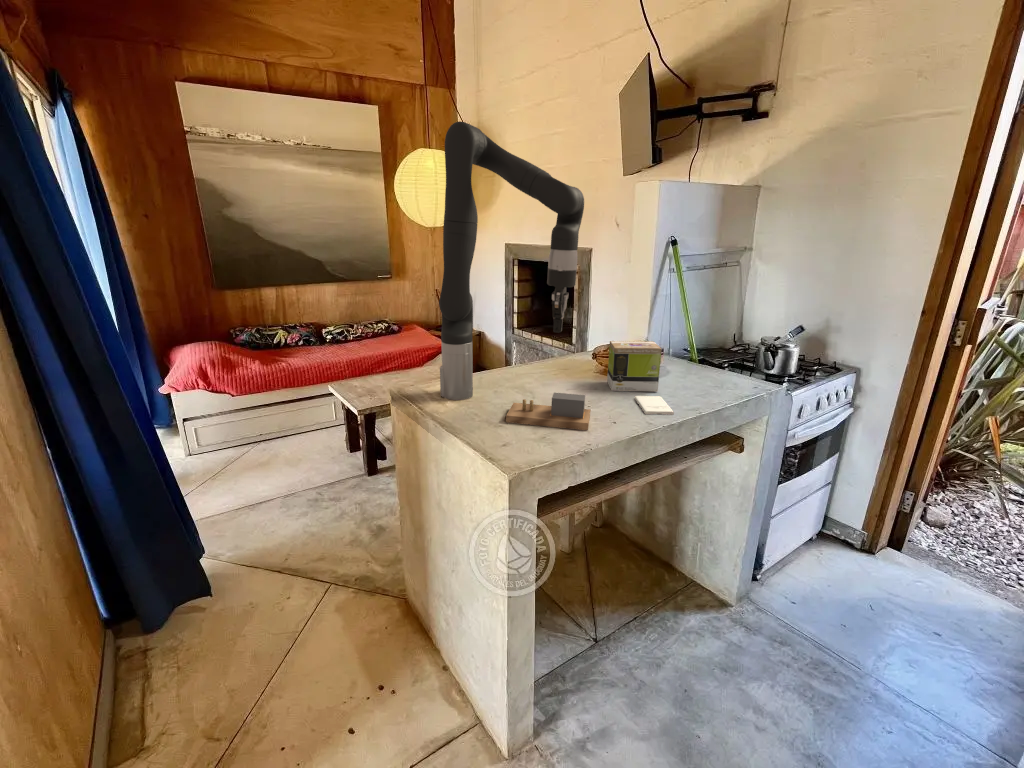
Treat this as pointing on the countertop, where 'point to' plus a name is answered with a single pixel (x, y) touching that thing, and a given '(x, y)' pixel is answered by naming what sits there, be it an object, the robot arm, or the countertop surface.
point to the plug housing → (568, 405)
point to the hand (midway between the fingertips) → (557, 332)
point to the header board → (544, 416)
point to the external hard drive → (653, 405)
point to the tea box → (634, 366)
